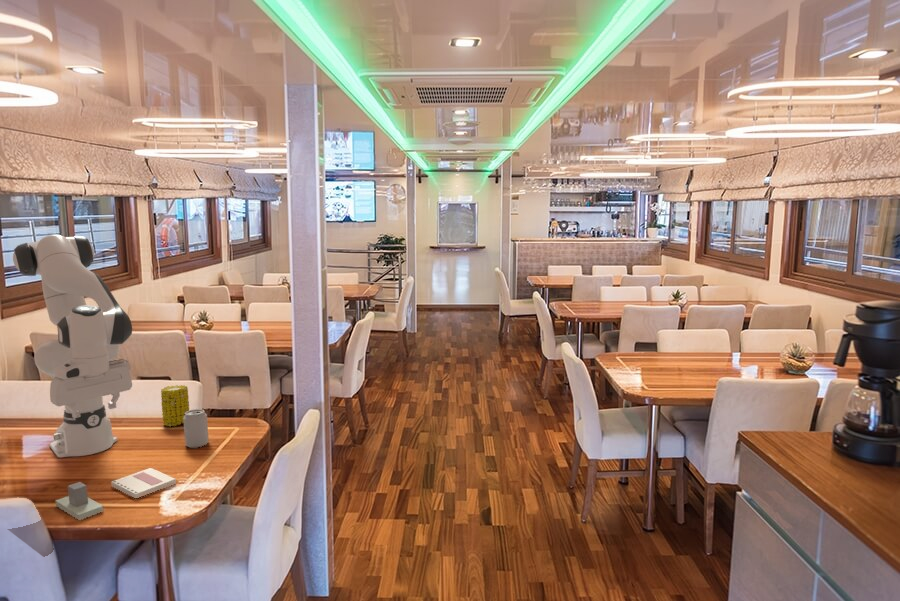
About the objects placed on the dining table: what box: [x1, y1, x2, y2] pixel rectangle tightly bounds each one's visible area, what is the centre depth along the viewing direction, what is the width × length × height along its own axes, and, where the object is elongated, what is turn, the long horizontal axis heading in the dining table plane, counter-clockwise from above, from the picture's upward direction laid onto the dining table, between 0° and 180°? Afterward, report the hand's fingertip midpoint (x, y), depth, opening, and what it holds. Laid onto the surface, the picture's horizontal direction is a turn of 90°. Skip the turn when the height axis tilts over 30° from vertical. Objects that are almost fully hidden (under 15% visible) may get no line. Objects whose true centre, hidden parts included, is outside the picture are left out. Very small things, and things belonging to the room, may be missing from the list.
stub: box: [55, 481, 104, 521], centre depth 163 cm, size 14×6×7 cm, turn 54°
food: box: [160, 384, 190, 428], centre depth 230 cm, size 15×12×10 cm
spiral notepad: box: [111, 467, 177, 499], centre depth 177 cm, size 14×12×2 cm
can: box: [183, 408, 209, 449], centre depth 207 cm, size 8×8×12 cm
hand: (94, 412), depth 169 cm, fingers open, 8 cm apart
